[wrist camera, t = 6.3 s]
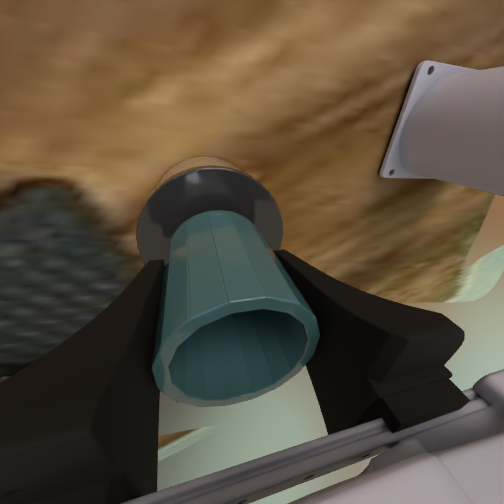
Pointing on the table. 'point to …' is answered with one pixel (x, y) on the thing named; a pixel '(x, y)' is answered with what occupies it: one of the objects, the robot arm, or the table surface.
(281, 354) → the cup
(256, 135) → the table surface
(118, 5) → the table surface
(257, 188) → the jar
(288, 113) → the table surface
